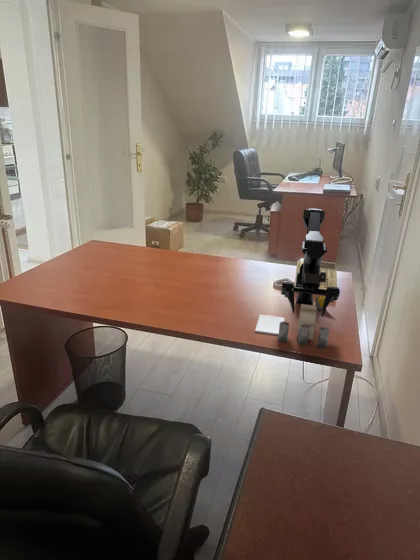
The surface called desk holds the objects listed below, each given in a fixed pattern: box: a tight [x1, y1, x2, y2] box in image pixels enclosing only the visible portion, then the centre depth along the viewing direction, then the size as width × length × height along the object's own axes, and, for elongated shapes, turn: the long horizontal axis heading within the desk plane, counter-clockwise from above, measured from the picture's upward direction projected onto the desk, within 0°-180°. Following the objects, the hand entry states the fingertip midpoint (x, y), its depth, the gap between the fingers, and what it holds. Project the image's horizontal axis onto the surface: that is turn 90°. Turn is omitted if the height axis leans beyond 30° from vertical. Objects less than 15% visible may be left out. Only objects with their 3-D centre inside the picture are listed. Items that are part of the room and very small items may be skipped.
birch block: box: [296, 303, 317, 341], centre depth 132 cm, size 5×5×10 cm
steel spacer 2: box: [316, 326, 330, 349], centre depth 127 cm, size 3×3×6 cm
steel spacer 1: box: [277, 321, 290, 343], centre depth 129 cm, size 3×3×6 cm
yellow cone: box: [314, 295, 325, 311], centre depth 151 cm, size 5×5×10 cm
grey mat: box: [254, 314, 286, 336], centre depth 139 cm, size 12×9×1 cm
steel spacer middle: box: [297, 324, 310, 346], centre depth 128 cm, size 3×3×6 cm
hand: (307, 315), depth 130 cm, fingers open, 9 cm apart
